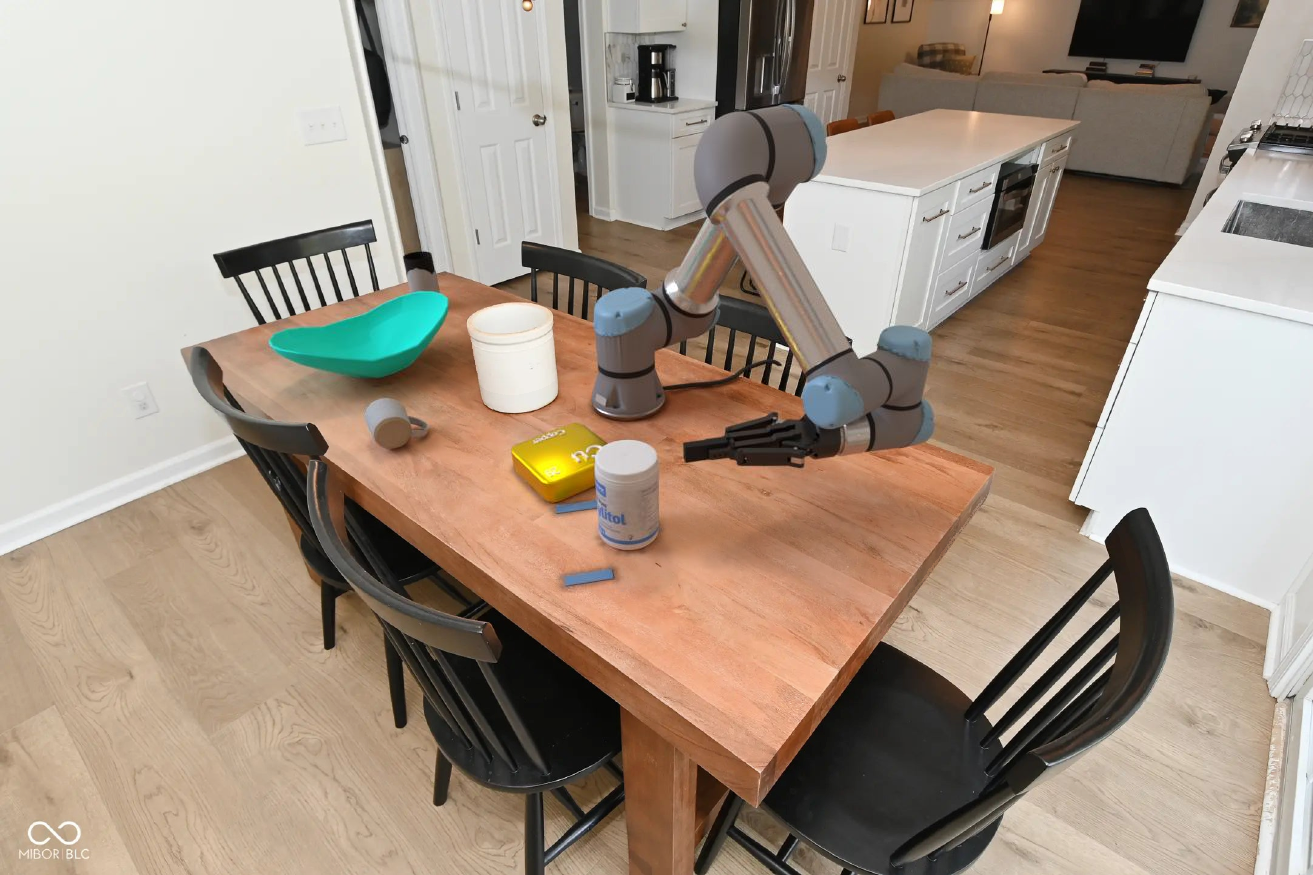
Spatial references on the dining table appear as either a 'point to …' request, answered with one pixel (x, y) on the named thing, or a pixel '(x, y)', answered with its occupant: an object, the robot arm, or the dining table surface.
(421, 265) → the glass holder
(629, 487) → the supplement tub
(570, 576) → the tape marks
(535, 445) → the element tile
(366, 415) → the ceramic mug
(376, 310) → the table top decor
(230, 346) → the dining table surface
